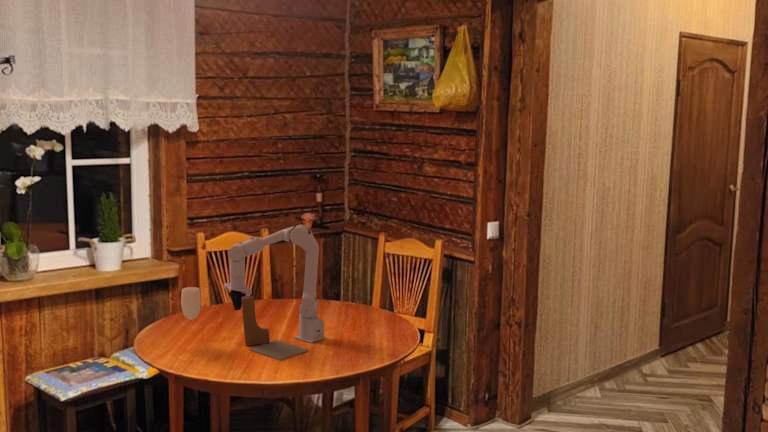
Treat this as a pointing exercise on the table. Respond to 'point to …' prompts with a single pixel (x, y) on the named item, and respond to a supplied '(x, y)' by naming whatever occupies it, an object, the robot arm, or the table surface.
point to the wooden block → (252, 324)
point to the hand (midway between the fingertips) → (237, 309)
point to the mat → (278, 350)
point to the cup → (191, 302)
